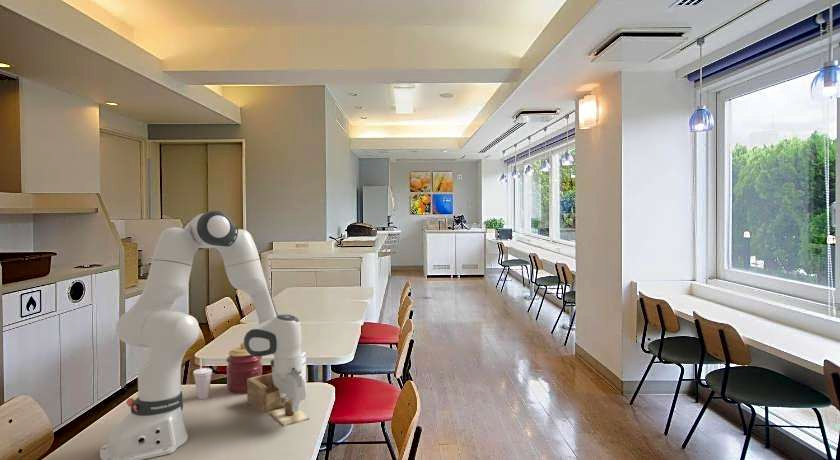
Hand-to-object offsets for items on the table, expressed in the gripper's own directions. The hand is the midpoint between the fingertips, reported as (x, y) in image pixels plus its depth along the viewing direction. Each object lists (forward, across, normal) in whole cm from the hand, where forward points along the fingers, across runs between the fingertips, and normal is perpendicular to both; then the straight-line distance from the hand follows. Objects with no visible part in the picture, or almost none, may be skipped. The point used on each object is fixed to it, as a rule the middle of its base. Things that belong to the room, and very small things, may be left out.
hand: (289, 406), depth 170 cm
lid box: (+3, +15, +1) cm, 15 cm away
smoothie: (+4, +36, +18) cm, 40 cm away
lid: (+4, 0, 0) cm, 4 cm away
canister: (+4, +36, +4) cm, 36 cm away
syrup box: (+4, +20, -11) cm, 23 cm away
